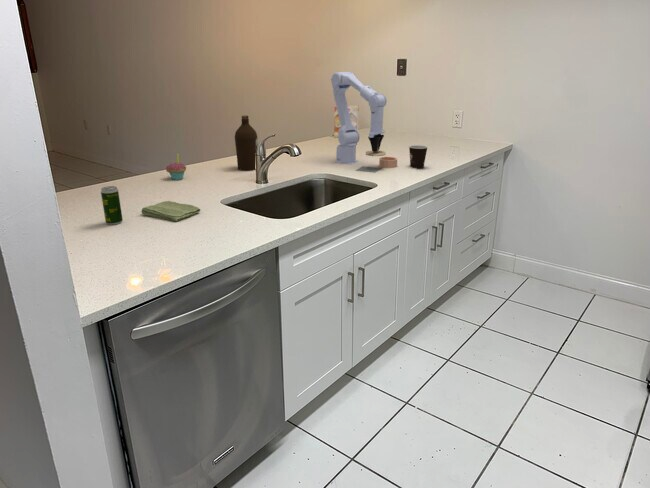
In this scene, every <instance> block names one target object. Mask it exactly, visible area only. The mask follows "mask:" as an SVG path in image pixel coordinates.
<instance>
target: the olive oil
mask: <svg viewBox="0 0 650 488" xmlns="http://www.w3.org/2000/svg"><path fill="white" fill-rule="evenodd" d="M234 144H235V145H234V146H235V151H236V152H235V154H236V162H237V170H239V171H244V172H245V171H246V172H249V171H255V148H256V145H257V146H258V134H257V131H256V129H254V127H252V126H251V124H250V119H249V115H247V114H244V115H241V124H240V125H239V127H238V128H237V129H236V130H235V133H234Z"/></svg>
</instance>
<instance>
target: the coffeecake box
mask: <svg viewBox="0 0 650 488" xmlns="http://www.w3.org/2000/svg"><path fill="white" fill-rule="evenodd" d="M348 110H349V114H350V119H351V123H352V125H353V126H355V127H356V129H357V132H358V133H359V117H360V115H359V112H360V107H359V105H348ZM333 121H334V126H333V127H334V128H333V130H334V131H333V132H334V133H333V135H334V136H333V137H334V138H338V136H339V135H338V131H339V129H340V128H341V124H340V120H339V115H338V111H337V107H336V105H335V106H334V120H333Z"/></svg>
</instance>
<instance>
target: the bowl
mask: <svg viewBox="0 0 650 488" xmlns="http://www.w3.org/2000/svg"><path fill="white" fill-rule="evenodd" d="M378 160H379V161H378V166H379V168H382V169H384V168H385V169H393V168H397V167H398V158H397V157H394V156H380V157H379V159H378Z"/></svg>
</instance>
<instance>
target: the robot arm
mask: <svg viewBox="0 0 650 488" xmlns="http://www.w3.org/2000/svg"><path fill="white" fill-rule="evenodd" d="M330 82H331V86H332V93H333V98H334V101H335V106H336V107H337V111H338V115H339V120H340V124H341V128H340V129H339V131H338V135H339V136H338V137H337V138H338V143H339V144H338V145H337V146H336V150H335V151H336V153H335V154H336V158H335V159H336V160H335V163H337V164H346V165H355V164H356V163H358V162H359V160H357V159H356V158H357V155H356V154H357V145H358V143H359V142H360V139H361V138H360V134H359V131H358V132H357V129H356V127H355V126H353V125H352V123H351V119H350V114H349V110H348V106H349V105H348V102H347V98H346V91H348V89H349V88H350V87H352V88H353V89H355V90H356V91H358V92H359V94H360V97H362V99H364V100H365V102H368V105H369V111H370V129H369V130H370V131H369V133H368V136H367V137H368V140H369V142H370V146H371V151H377V149H378V151H380V148H381V145H382V144H381V143H382V140H383V139H384V137H385V135H384V134H385V133H386V132H385V130H384V127H383V125H384V123H383V122H384V107H386V105H387V97H386V96H385V95H384V94H383V93H381V94H379V92H378V91H375V90H374V88H372V86H371V85H364V84H363V83H362V82H361V81H360V80H359V79H358V78H357V77H356V76H355V74H354V73H353V72H352V71H340V72H339V71H335V72H333V74H332V76H331V78H330Z"/></svg>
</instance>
